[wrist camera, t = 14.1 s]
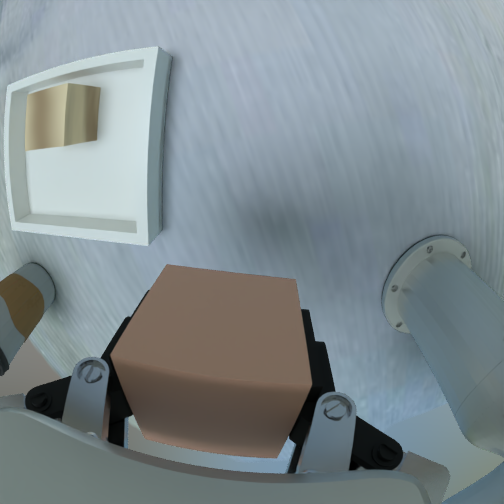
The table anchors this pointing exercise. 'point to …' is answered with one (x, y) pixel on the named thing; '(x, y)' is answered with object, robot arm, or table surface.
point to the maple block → (61, 116)
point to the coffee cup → (22, 308)
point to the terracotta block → (216, 361)
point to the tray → (94, 153)
